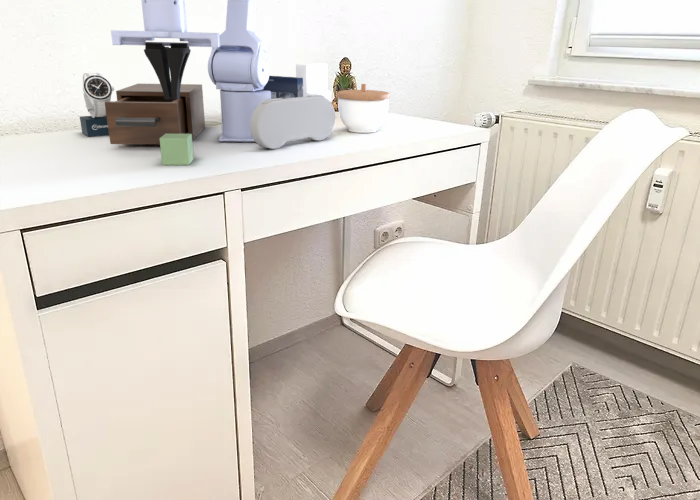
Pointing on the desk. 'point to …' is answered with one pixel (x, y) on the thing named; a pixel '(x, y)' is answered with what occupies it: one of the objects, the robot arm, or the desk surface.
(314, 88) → the base with upright slab
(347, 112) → the trinket box
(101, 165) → the desk surface
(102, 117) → the watch
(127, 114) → the drawer
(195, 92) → the cabinet
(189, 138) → the block
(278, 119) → the game controller
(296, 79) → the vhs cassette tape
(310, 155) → the desk surface
